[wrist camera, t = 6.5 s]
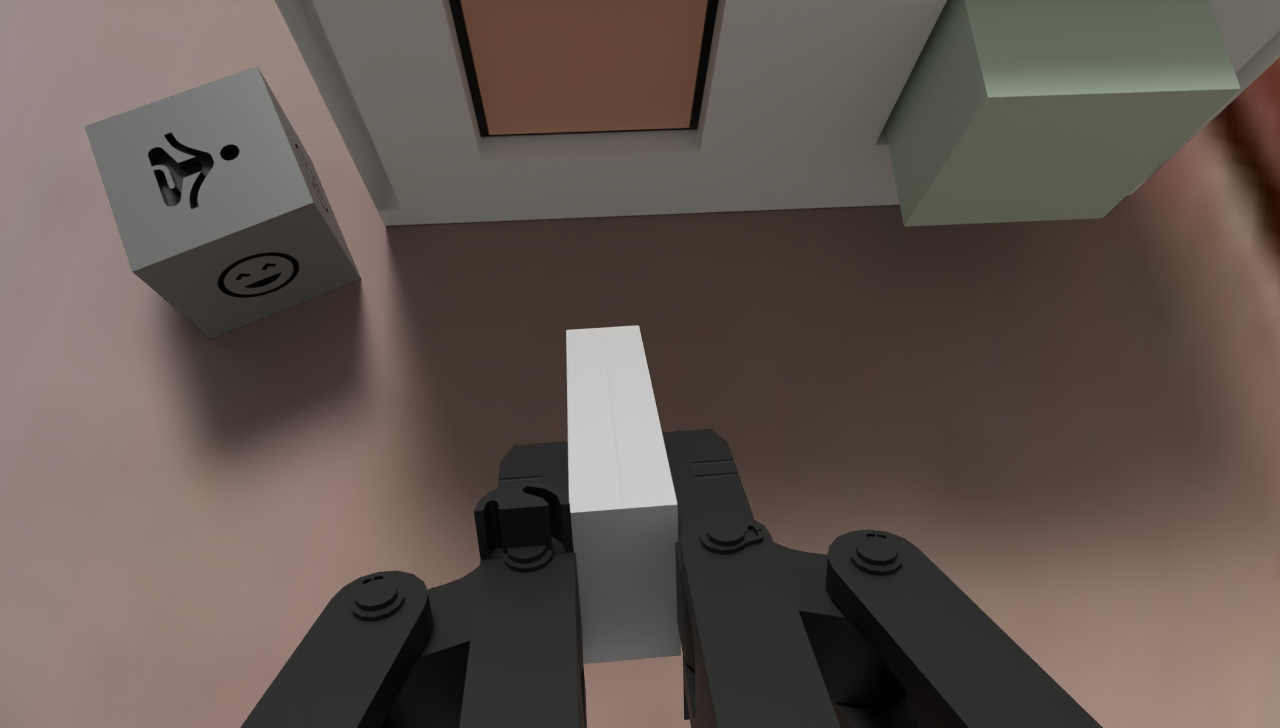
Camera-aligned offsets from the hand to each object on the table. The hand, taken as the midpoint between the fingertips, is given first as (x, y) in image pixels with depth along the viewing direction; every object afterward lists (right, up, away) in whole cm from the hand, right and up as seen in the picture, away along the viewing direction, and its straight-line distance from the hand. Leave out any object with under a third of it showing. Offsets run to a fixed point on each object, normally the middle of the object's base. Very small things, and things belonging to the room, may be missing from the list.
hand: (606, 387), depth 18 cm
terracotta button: (-1, +11, +9) cm, 14 cm away
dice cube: (-12, +4, +11) cm, 17 cm away
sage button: (+11, +8, +8) cm, 16 cm away
